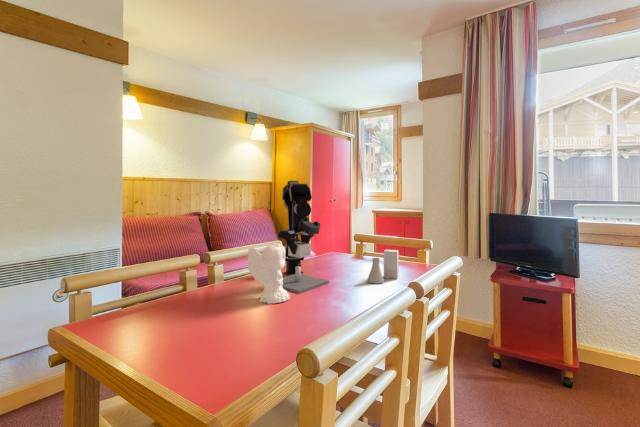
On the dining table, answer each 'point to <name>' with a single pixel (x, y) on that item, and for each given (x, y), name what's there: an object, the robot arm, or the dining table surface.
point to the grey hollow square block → (301, 250)
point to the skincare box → (391, 264)
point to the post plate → (301, 282)
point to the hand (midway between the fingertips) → (299, 253)
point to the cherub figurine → (269, 272)
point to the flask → (375, 272)
